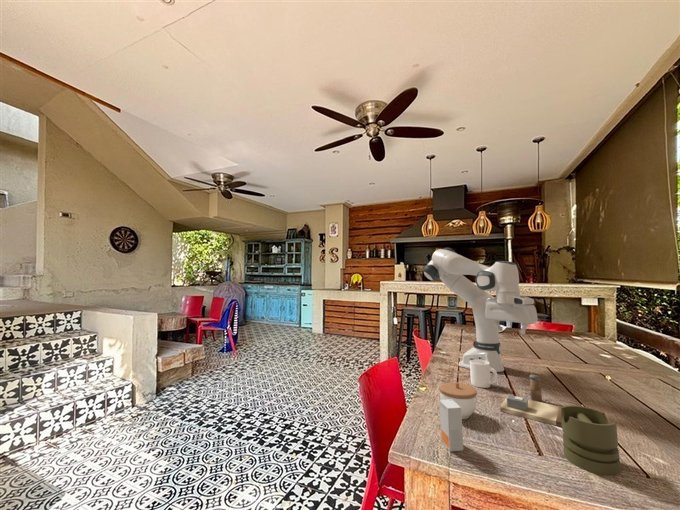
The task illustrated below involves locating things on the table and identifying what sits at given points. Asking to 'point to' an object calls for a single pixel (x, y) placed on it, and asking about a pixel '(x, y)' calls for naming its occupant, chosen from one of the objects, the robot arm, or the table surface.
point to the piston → (590, 440)
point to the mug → (481, 373)
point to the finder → (517, 402)
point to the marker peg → (535, 388)
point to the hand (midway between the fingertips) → (510, 332)
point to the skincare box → (451, 425)
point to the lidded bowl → (460, 396)
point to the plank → (537, 412)
